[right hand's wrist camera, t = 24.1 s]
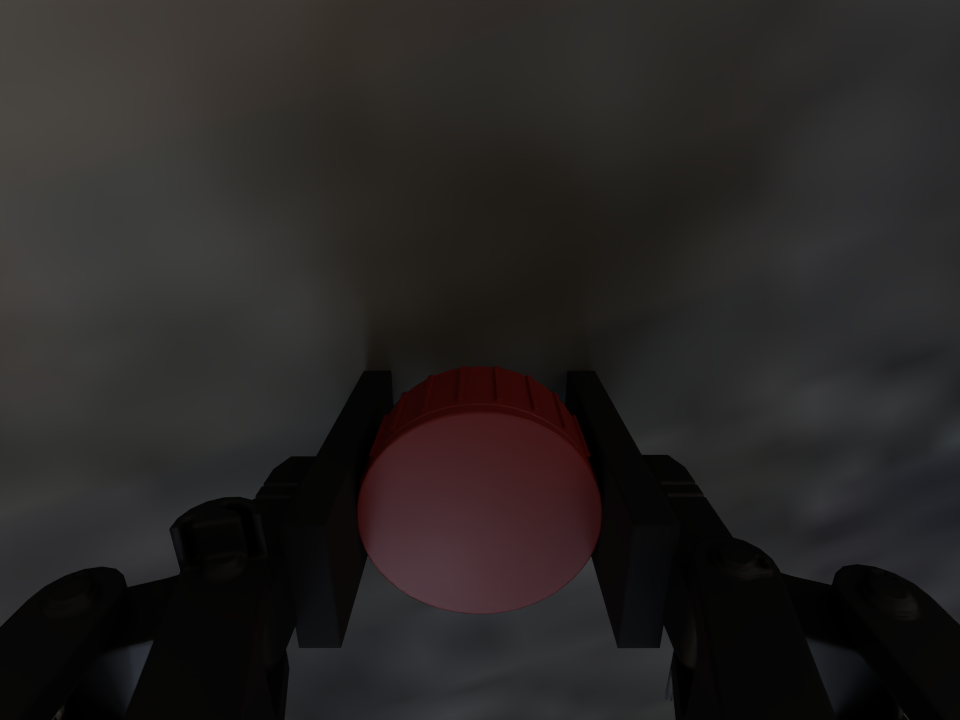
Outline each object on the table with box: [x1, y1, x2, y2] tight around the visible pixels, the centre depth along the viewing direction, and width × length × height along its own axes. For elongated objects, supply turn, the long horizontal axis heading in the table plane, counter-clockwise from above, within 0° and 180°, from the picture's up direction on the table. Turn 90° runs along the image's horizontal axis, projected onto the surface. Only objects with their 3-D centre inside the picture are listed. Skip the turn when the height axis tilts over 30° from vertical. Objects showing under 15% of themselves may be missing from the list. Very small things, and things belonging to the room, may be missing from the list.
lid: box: [357, 366, 602, 614], centre depth 11 cm, size 5×5×2 cm
